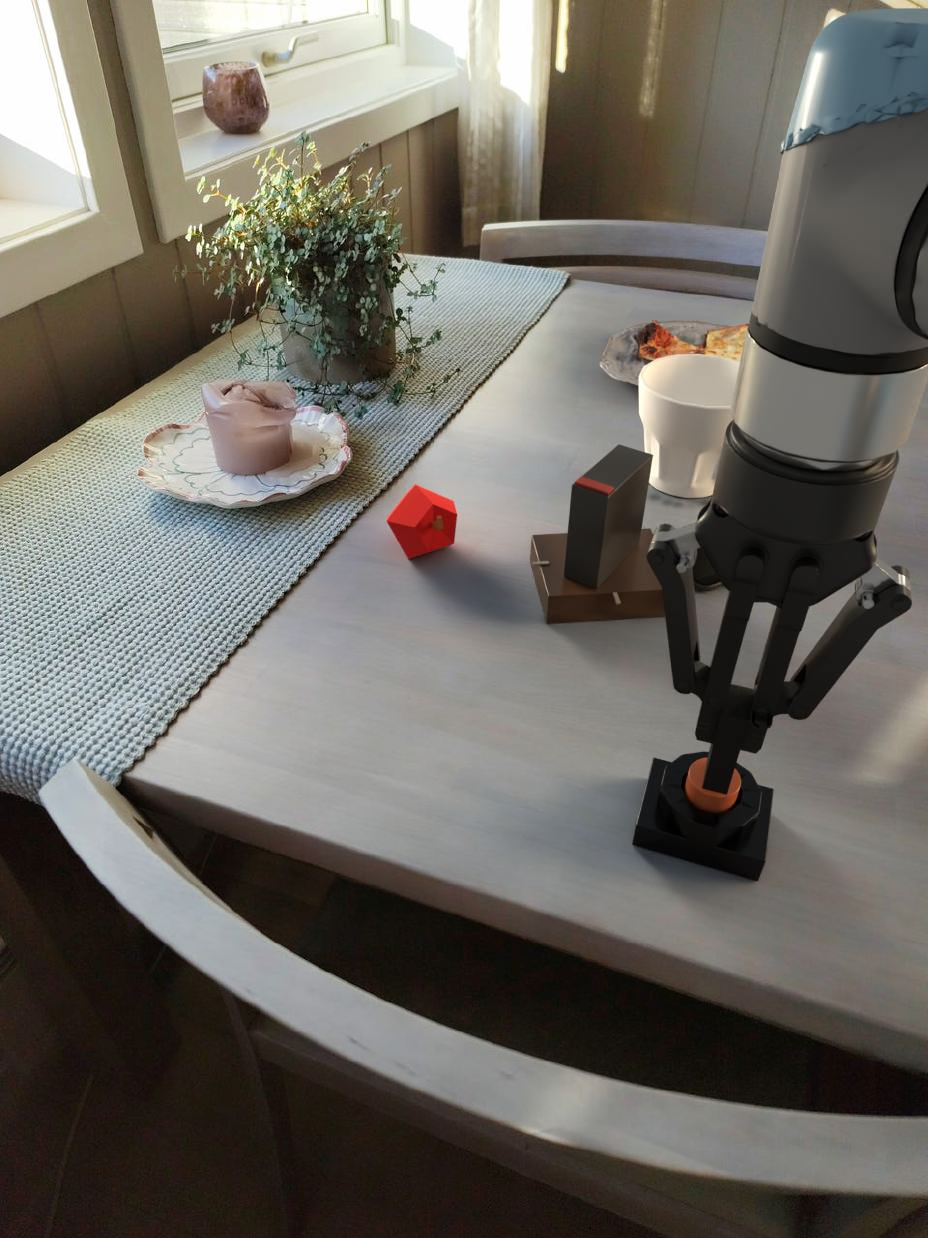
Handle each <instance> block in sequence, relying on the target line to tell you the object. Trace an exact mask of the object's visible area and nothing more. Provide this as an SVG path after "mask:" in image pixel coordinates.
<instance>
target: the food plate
mask: <svg viewBox="0 0 928 1238" xmlns="http://www.w3.org/2000/svg"><path fill="white" fill-rule="evenodd" d="M651 321H652V322H644V323H639V324H636V325H633V326H631V327H629V328H625V329H621V330H620V331H618V332H617V333H614V334H612V335H610V337H609V338H608V341H607V343H606V346H605V348H604V351H603V353H602V355H601V360H600V361H599V366H600V368H601V369H602V370H603V372H605V373H606V374H607V375H608V376H610V378H612V379H614V380H616V381H617V380H618V381H620V382H622V383H630V384H632V385H635V386H637V387H639V375H640V373H641V371H642V369H643V367H644V366H645V365H647V364H649V363H650V362H652V361H654V360H656V359H658V358H662V357H667V356H672V355H678V354H703V355H711V356H718V357H724V358H727V359H731V360H734V361H737V362H740V360H741V355H742V350H743V345H744V340H745V336H746V331H747V328H748V326H749V323H745V324H741V325H733V326H730V325H723V324H717V323H711V322H705V321H701V320H700V321H698V320H696V321H695V320H668V321H658V320H656V319H655V320H654V319H652V320H651Z"/></svg>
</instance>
